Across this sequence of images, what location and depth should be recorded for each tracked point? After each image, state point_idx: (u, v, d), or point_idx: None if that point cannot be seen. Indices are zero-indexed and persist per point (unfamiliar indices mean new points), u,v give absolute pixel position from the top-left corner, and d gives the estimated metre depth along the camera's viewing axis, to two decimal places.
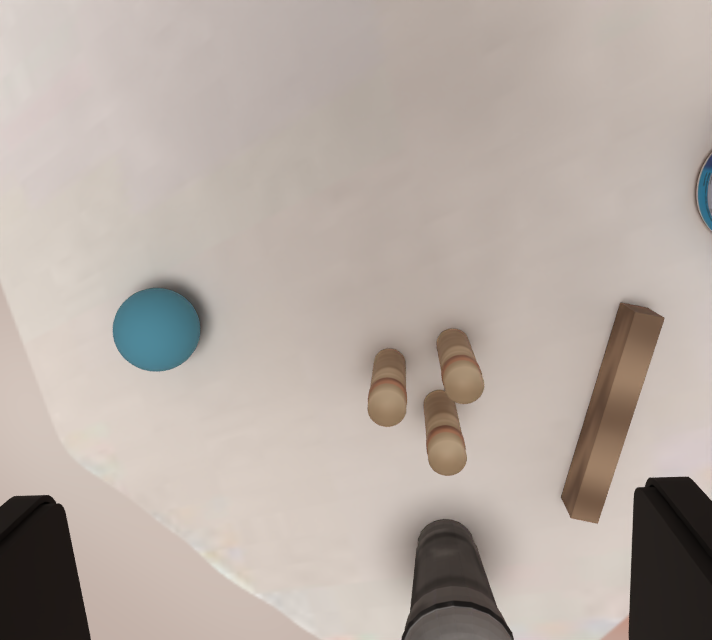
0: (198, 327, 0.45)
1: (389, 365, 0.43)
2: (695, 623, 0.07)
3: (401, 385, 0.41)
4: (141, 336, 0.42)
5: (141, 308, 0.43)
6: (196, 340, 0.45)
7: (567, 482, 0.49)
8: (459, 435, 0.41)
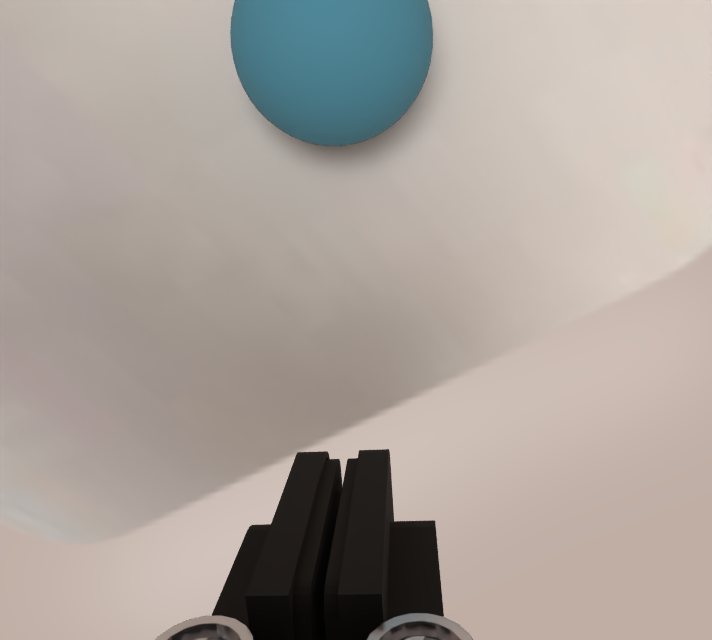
0: None
1: None
2: None
3: None
4: (307, 22, 0.16)
5: (253, 54, 0.17)
6: None
7: None
8: None
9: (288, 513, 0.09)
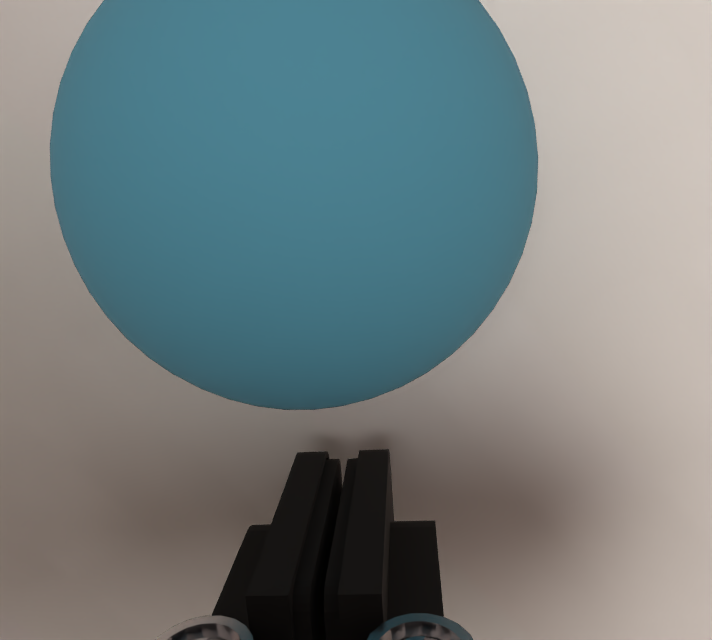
0: None
1: None
2: None
3: None
4: (207, 192, 0.05)
5: (84, 253, 0.07)
6: None
7: None
8: None
9: (288, 513, 0.09)
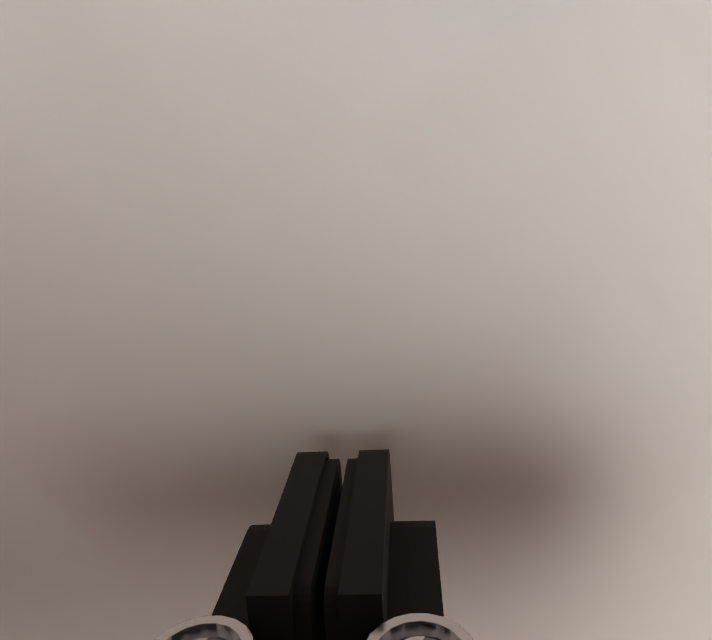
0: None
1: None
2: None
3: None
4: None
5: None
6: None
7: None
8: None
9: (288, 513, 0.09)
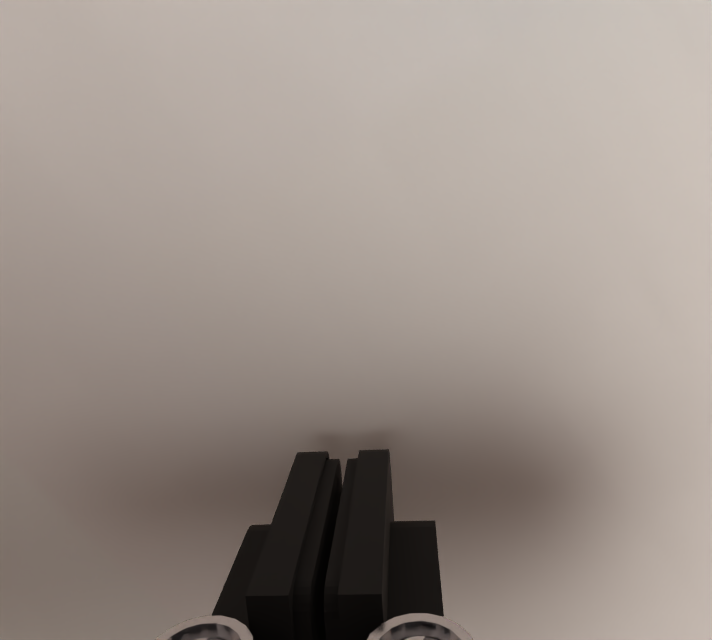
0: None
1: None
2: None
3: None
4: None
5: None
6: None
7: None
8: None
9: (288, 513, 0.09)
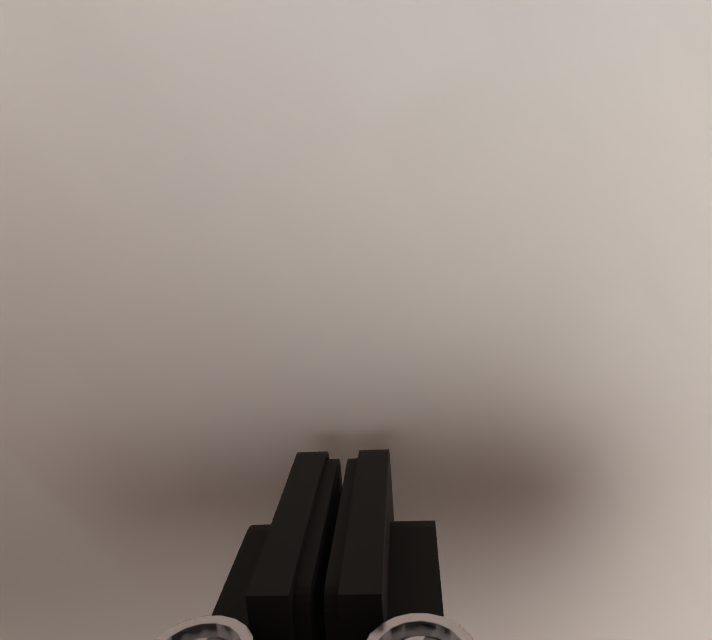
0: None
1: None
2: None
3: None
4: None
5: None
6: None
7: None
8: None
9: (288, 513, 0.09)
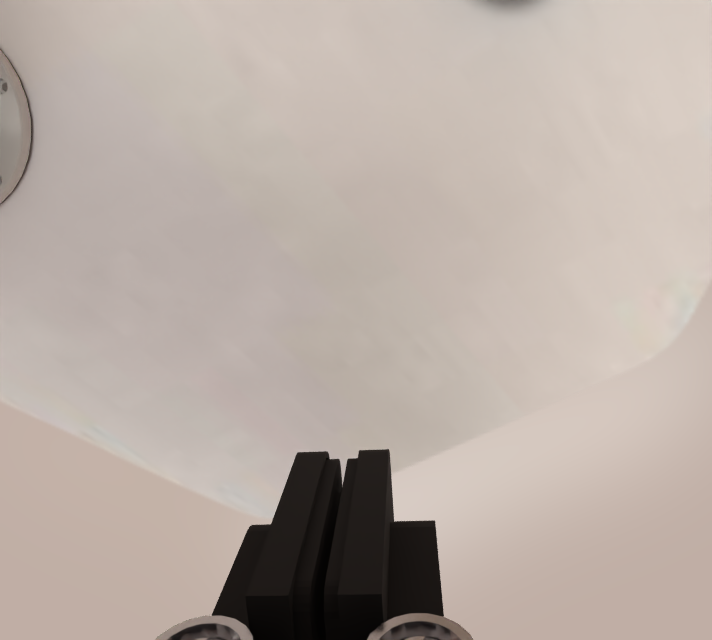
0: None
1: None
2: None
3: None
4: None
5: None
6: None
7: None
8: None
9: (288, 513, 0.09)
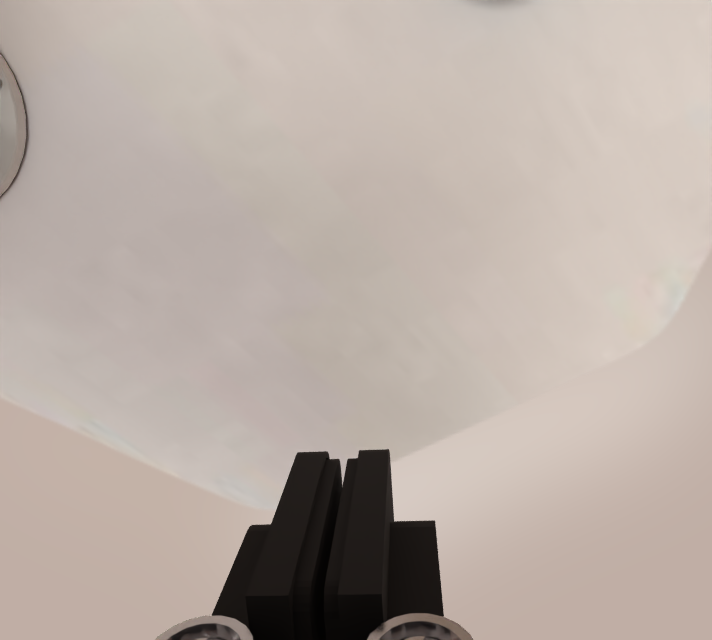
0: None
1: None
2: None
3: None
4: None
5: None
6: None
7: None
8: None
9: (288, 513, 0.09)
